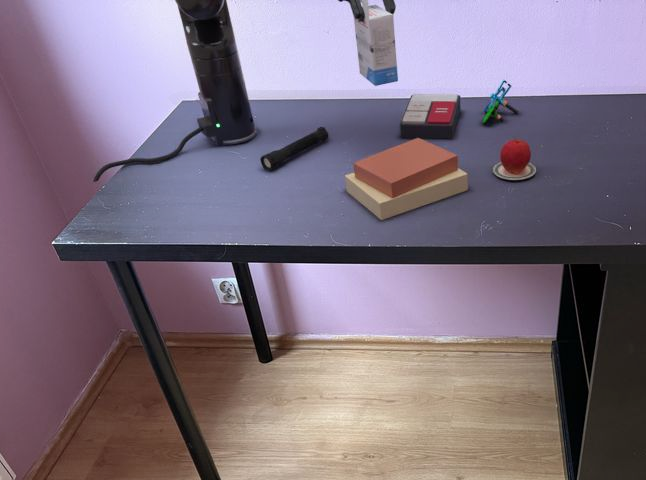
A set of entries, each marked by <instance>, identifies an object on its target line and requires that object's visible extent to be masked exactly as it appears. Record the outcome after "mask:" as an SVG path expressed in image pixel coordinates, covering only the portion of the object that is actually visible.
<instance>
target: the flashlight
mask: <svg viewBox="0 0 646 480" xmlns="http://www.w3.org/2000/svg"><path fill="white" fill-rule="evenodd" d="M327 140H329V132H328V131H327V129H326V128H325V126H320V127H317V129H316V130H315V131H313V132H311V133H308V134H307V135H305V136H303V137H302V138H299V139H297V140H295V141H292V142H291V143H288V144H287V145H285V146H284V147H282V148H280V149H276V150H273V151H270V152H268V153H266V154H263V155H261V157H260V164H261V166H262V168H263V169H264V170H266V172H270V171H272V170H274V169H275V168H278V167H279V166H280V165H282V164H284V162H285V161H286V160H288V159H290V158H292V157H294V156H296V155H298V154H300V153H303V152H304V151H306V150H308V149H310V148H312V147H314V146H315V145H318V144H319V143H321V142H326V141H327Z"/></svg>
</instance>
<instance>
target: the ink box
mask: <svg viewBox="0 0 646 480" xmlns="http://www.w3.org/2000/svg"><path fill="white" fill-rule="evenodd" d="M360 2H361V6H362V9H363V12H364V20H363V22H359V21H358V19H355V18H354V17H353V22H354V32H355V40H356V41H355V42H356V51H357V59H358V68H359V69H358V70H359V71H358V72H359V75H361V76H362V77H364V78H365V79H366V80H367V81H368V82H370V83H371V84H372V85H373V86H374V87H377V86H382V85H386V84H391V83H396V82H398V81H399V73H398V62H397V61H398V60H397V47H396V35H395V23H394V14H391V13H389V12H387V11H386V10H385V8H382V7H380V6H379V5H377V4H372V5H369V0H360Z"/></svg>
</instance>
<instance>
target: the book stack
mask: <svg viewBox="0 0 646 480" xmlns="http://www.w3.org/2000/svg"><path fill="white" fill-rule="evenodd" d="M458 156H459V155H458V154H455V153H453V152H451V151H449V150H447V149H444V148H442V147H440V146H437V145H436V144H433V143H431V142H429V141H427V140H424V139H423V138H413V139H411V140H409V141H405V142H403V143H401V144H399V145H396V146H393V147H391V148H388V149H386V150H383V151H380V152H378V153H375V154H372V155H370V156H367V157H364V158H362V159H360V160H357V161H354V162H353V163H352V165H353V172H352V173H348V174H345V175H344V180H345V186H346V192H347V193H348V194H349V195H351V197H352V198H354V199H355V200H356V201H357V202H359V204H361V205H362V206H363V207H364V208H366V209H367V210H368V211H370V212H371V213H372V214H373V215H374V216H375V217H376V218H378V219H379V220H380V221H383V220H387V219H389V218H392V217H395V216H399V215H400V214H401V215H402V214H403V213H404V214H405V213H406V212H409V211H412V210H415V209H418V208H421V207H424V206H426V205H429V204H432V203H435V202H438V201H441V200H443V199H446V198H450V197H452V196H455V195H458V194H461V193H464V192H467V191H469V190H468V189H469V182H468V181H469V174H468V173H467V172H465V171H464V170H463V169H460V167H459V159H458V158H459V157H458Z"/></svg>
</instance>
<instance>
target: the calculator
mask: <svg viewBox="0 0 646 480" xmlns="http://www.w3.org/2000/svg"><path fill="white" fill-rule="evenodd" d="M460 115H461V96H460V95H459V94H455V93H453V94H452V93H442V94H441V93H412V94H411V95H410V97H409V100H408V102H407V105H406V107H405V109H404V113H403V115H402V118H401V119H400V122H399V130H400V138H403V139H416V138H420V139H437V140H439V139H440V140H441V139H443V140H451V139H453V137H454V134H455V131H456V127H457V123H458V118H460Z"/></svg>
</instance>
